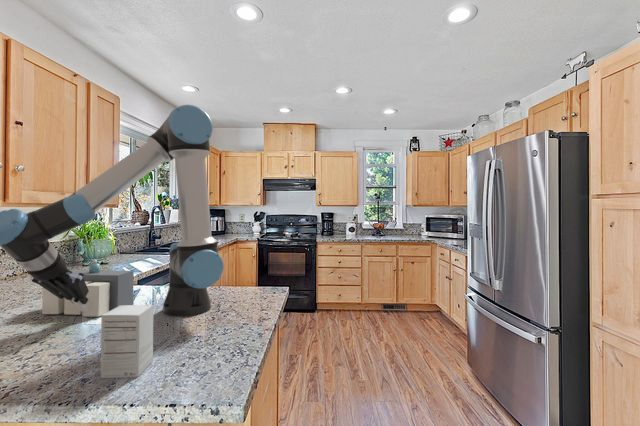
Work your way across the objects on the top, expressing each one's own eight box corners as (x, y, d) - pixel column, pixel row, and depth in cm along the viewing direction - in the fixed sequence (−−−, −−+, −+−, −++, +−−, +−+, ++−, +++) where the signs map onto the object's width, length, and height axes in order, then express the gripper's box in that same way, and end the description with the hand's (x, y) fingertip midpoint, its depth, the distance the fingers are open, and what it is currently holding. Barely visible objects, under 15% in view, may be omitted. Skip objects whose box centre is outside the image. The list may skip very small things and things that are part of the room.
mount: (133, 304, 117) (133, 270, 117) (107, 316, 102) (107, 278, 102) (71, 303, 117) (72, 269, 117) (37, 315, 102) (38, 277, 102)
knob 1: (88, 302, 116) (88, 276, 116) (58, 314, 102) (58, 284, 102) (73, 302, 116) (74, 276, 116) (42, 314, 102) (42, 283, 102)
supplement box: (118, 362, 71) (119, 304, 71) (153, 361, 72) (154, 304, 72) (98, 379, 64) (100, 314, 64) (138, 378, 64) (139, 314, 65)
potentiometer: (101, 271, 114) (101, 259, 114) (95, 273, 111) (96, 260, 111) (93, 271, 114) (93, 259, 114) (87, 273, 111) (87, 260, 111)
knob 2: (124, 304, 114) (124, 277, 114) (98, 316, 101) (99, 285, 101) (110, 304, 114) (110, 277, 114) (82, 316, 101) (83, 285, 101)
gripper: (6, 272, 80) (58, 319, 97) (59, 273, 80) (102, 319, 97) (25, 249, 86) (72, 296, 102) (75, 249, 86) (113, 297, 102)
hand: (86, 307), depth 99 cm, fingers closed
